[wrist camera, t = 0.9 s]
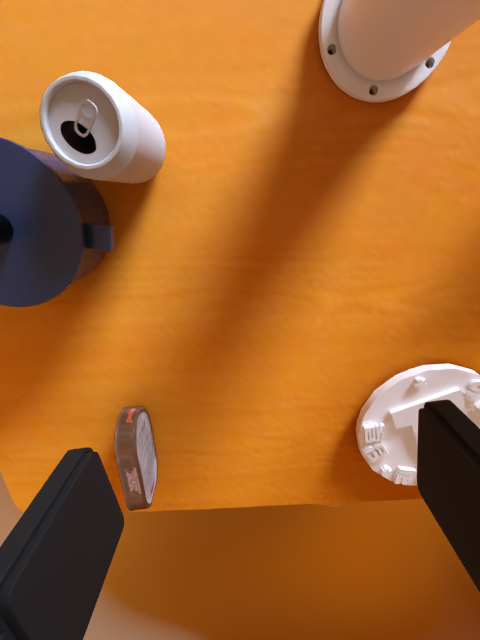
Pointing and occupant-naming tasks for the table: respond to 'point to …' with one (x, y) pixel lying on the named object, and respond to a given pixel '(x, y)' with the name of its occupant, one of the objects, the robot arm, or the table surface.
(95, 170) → the can
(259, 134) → the table surface
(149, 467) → the tin
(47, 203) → the pot lid
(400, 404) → the embossed medallion
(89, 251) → the pot
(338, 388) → the table surface
